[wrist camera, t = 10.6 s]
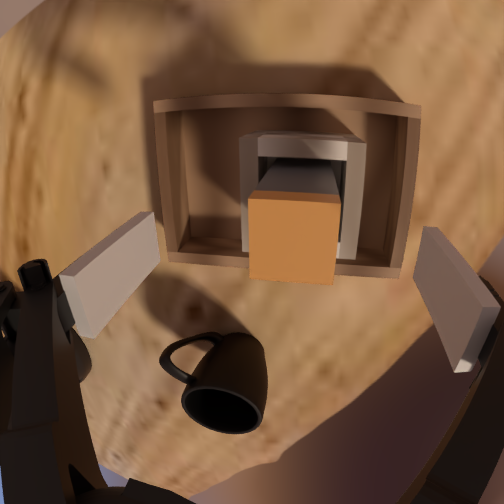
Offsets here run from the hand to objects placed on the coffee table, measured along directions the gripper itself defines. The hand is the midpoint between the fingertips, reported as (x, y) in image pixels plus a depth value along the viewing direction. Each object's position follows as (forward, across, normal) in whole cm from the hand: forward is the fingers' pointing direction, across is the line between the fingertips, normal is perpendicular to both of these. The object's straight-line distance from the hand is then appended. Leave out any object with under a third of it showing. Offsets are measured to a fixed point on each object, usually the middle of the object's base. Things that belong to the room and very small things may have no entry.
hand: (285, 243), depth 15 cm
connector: (+11, +1, 0) cm, 11 cm away
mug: (+14, -7, -19) cm, 24 cm away
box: (+14, -1, 0) cm, 14 cm away
